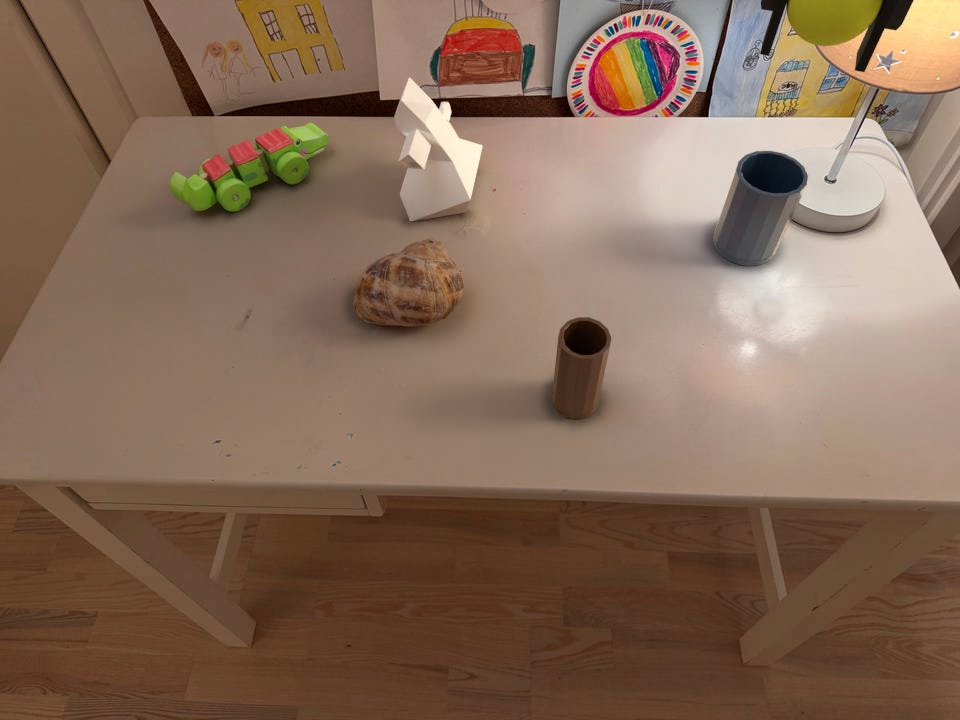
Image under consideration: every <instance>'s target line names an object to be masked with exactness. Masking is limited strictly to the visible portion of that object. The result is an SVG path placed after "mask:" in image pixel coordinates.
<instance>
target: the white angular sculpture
mask: <svg viewBox="0 0 960 720" xmlns="http://www.w3.org/2000/svg"><path fill="white" fill-rule="evenodd" d="M451 116H452V108H451V105H450V103H449V101H441V102H440V105H439V108H438V106H437V105H436V103H435V102H434V101H433V99H432V98H430V97H429V95H428V94H427V93H426V92H425V91H424V90H423V89H422V88H421V87H420V86H419V85H418V84H417V83H416V82H415V81H414V80H413V79H412V78H411V77H410V76H408V79H407V81H406V83H405V86H404V88H403V91H402V93H401V96H400V100H399V102H398V105H397V107H396V111H395V113H394V116H393V123H394V125H395V127H396V129H398V131H399V132H400V133H401V135H402V136H403V138H404V143H403V146H402V149H401V152H400V155H399V158H398V161H397V163H399V164H401V165H402V166H404V167H406V168H407V170H406V172H405V174H404V179H403V181H402V185H401V189H400V191H399V197H400V199H401V202H402V204H403V206H404V209H405V212H406V215H407V218H408V219H409V222H416V221H423V220H429V219H435V218H441V217H447V216H453V215H460V214H464V213H466V212H467V209H468V206H469V205H470V202H471V198H472V195H473V191H474V186H475V181H476V177H477V173H478V170H479V164H480V160H481V155H482V152H483V147H484V145H482V144H480V143H476V142H474V141H473V142H472V141H470V140H467V139H463V138H461V137H459V136H458V134H457V132H456V130H455V129H454V127H453V125H452V124H451V122H450V120H451Z"/></svg>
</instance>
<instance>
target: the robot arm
mask: <svg viewBox="0 0 960 720" xmlns="http://www.w3.org/2000/svg"><path fill="white" fill-rule="evenodd" d="M913 3H914V0H884V2H883V5H882V8H881V10H880V12H879V14H878V15H877V17H876V18H875V20H874V21H873V22H872V24H871V25H870V26H869V27H868V28H867V29H866V30H865V34H864V36H863V38H862V40H861V42H860V45H859V47H858V49H857V52H856V57H855V65H854V71H855V72H860V73H865V72H866V70H867V68H868V66H869V63H870V61H871V59H872V57H873V55H874V52H875V51H876V48H877V46H878V44H879V43H880V40H881V37H882V35H883V33H884V31H885V30H890V31H897V30H898V29H899V28H900V27H901V26H902V25H903V24H904V22H905V19H906V17H907V16H908V13H909V11H910V9H911V7H912V5H913ZM786 4H787V0H760V10H763V11H769V12H771V15H770V18H769V21H768V24H767V27H766V30H765V33H764V36H763V40H762V44H761V48H760V51H759V55H761V56H762V55H764V56H768V57H769V56H770V54H771V51H772V48H773V45H774V42H775V39H776V37H777V34H778V30H779V27H780V24H781V21H782V17H783V16H784V12H785V9H786V7H787V5H786Z"/></svg>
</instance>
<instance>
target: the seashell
mask: <svg viewBox="0 0 960 720" xmlns="http://www.w3.org/2000/svg"><path fill="white" fill-rule="evenodd" d="M441 243H442V242H441V241H439V240H438V239H436V238H434V237H428V238H426V239H425V238H424V239H422V240H421V241H416V242H412V243H410V244H408V245H406V246H405V247H404V248H403V249H402V250H401V251H400V252H397V253H390V254H387V255H384V256H381V257H380V258H378V259H376V260H374V261H373V262H371V263H370V264H369V265H367V266H366V267H365V268H364V269H363V271H362V273H361V274H360V276H359V278H358V280H357V282H356V284H355V291H354V297H353V301H352V303H353V309H354V312H355V313H356V315H357V317H359V318H360V319H362V320H363V322H365V323H367V324H368V323H369V324H374V325H378V326H402V327H410V328H411V327H421V326H429V325H432V324H434V323H437V322H439V321H441V320H444V319H446V318H447V317H448V316H449V315H450V314H451V313H452V312H453V311H454V310H455V309H456V307H457V306H458V304H459V303H460V302H461V300H462V298H463V295H464V289H465V286H464V280H463V276H462V274H461V272H460V270H459V268H458V266H457V264H456V263H455V261H454V260H453V259H452V257H451V256H450V254H449V252H448V250H447V249H446V248H445V246H443V244H441Z"/></svg>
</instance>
